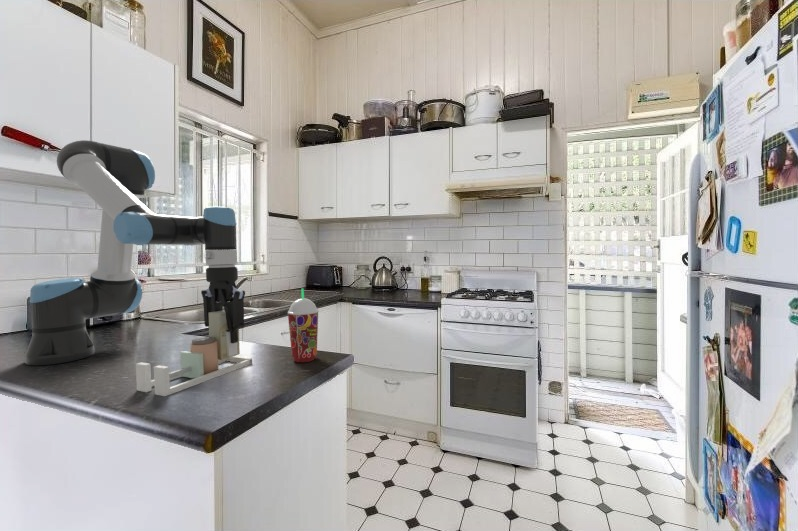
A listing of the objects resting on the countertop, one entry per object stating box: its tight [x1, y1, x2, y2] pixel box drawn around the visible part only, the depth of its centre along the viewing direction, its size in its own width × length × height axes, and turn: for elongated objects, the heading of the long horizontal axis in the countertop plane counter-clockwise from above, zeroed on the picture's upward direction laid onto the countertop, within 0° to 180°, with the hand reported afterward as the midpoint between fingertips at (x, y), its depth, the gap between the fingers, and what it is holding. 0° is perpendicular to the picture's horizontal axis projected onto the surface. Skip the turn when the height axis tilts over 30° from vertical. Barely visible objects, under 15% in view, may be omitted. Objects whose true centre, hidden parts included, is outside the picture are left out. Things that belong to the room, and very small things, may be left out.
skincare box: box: [208, 309, 241, 360], centre depth 97 cm, size 6×4×12 cm
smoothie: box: [287, 288, 319, 363], centre depth 102 cm, size 8×8×20 cm
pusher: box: [169, 350, 204, 379], centre depth 85 cm, size 7×9×6 cm
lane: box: [135, 355, 253, 397], centre depth 91 cm, size 10×24×6 cm, turn 156°
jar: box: [189, 336, 219, 375], centre depth 92 cm, size 6×6×9 cm
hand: (225, 353), depth 98 cm, fingers closed on skincare box, 4 cm apart
